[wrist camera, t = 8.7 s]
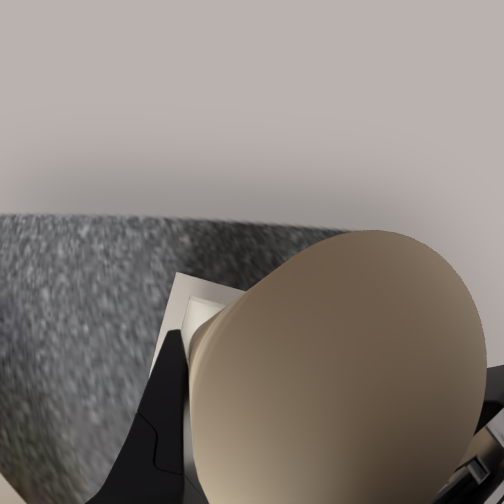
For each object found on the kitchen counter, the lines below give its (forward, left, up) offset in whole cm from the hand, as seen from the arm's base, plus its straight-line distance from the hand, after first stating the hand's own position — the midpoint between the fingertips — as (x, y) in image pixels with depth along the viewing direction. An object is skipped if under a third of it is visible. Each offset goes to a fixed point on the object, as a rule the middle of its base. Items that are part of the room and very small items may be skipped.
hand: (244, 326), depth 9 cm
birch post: (-1, -1, -7) cm, 7 cm away
